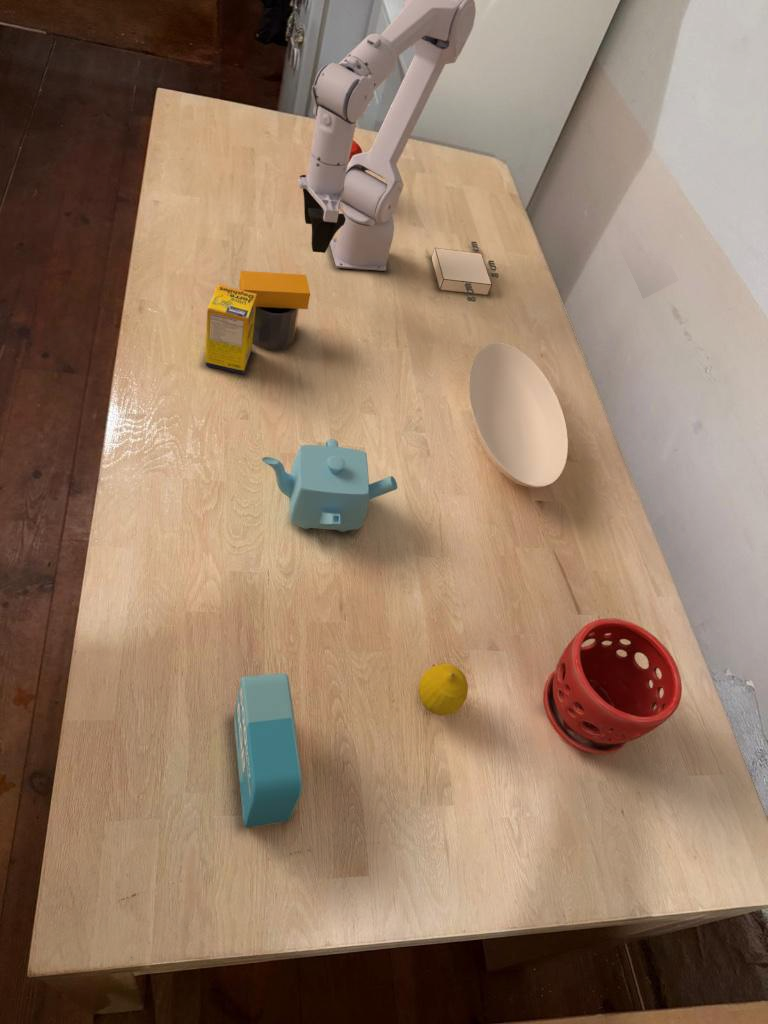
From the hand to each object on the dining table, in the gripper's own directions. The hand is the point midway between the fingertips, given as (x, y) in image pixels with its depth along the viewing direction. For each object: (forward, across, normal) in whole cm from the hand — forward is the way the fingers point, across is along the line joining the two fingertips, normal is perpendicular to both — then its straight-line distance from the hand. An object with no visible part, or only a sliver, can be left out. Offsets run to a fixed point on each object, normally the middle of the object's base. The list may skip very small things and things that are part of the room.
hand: (315, 236), depth 120 cm
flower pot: (+12, +78, +24) cm, 83 cm away
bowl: (+11, +34, +27) cm, 44 cm away
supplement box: (+11, +17, -14) cm, 25 cm away
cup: (+11, +11, -8) cm, 17 cm away
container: (+10, -7, +32) cm, 34 cm away
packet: (+4, +12, -8) cm, 14 cm away
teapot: (+12, +47, -4) cm, 49 cm away
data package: (+12, +80, -16) cm, 83 cm away
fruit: (+12, +75, +5) cm, 76 cm away
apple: (+10, -32, +10) cm, 35 cm away
